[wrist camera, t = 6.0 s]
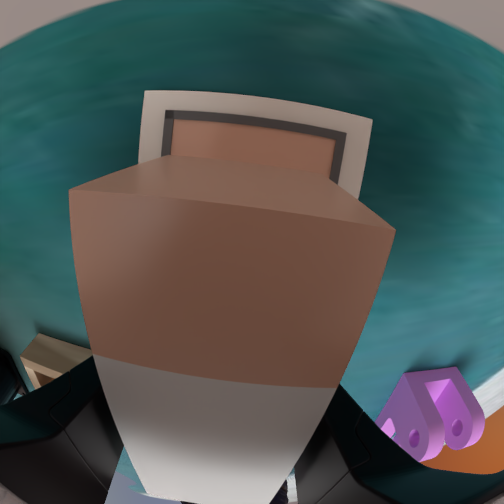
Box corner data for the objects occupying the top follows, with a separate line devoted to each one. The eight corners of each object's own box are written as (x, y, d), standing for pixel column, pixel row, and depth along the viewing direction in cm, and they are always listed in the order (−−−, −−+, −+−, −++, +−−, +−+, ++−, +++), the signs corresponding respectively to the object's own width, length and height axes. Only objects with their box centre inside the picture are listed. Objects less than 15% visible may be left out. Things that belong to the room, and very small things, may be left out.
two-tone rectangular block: (264, 416, 13) (265, 509, 8) (170, 404, 12) (147, 493, 8) (322, 174, 8) (396, 230, 4) (167, 154, 8) (68, 189, 3)
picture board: (300, 378, 18) (301, 391, 17) (151, 359, 18) (146, 371, 17) (365, 119, 12) (374, 119, 11) (152, 92, 12) (143, 90, 11)
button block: (127, 411, 21) (117, 438, 18) (61, 390, 21) (48, 412, 18) (112, 355, 18) (96, 385, 15) (38, 333, 18) (19, 356, 15)
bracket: (402, 371, 19) (435, 444, 12) (455, 365, 19) (491, 425, 12) (350, 455, 24) (361, 510, 17) (396, 448, 24) (411, 498, 17)
